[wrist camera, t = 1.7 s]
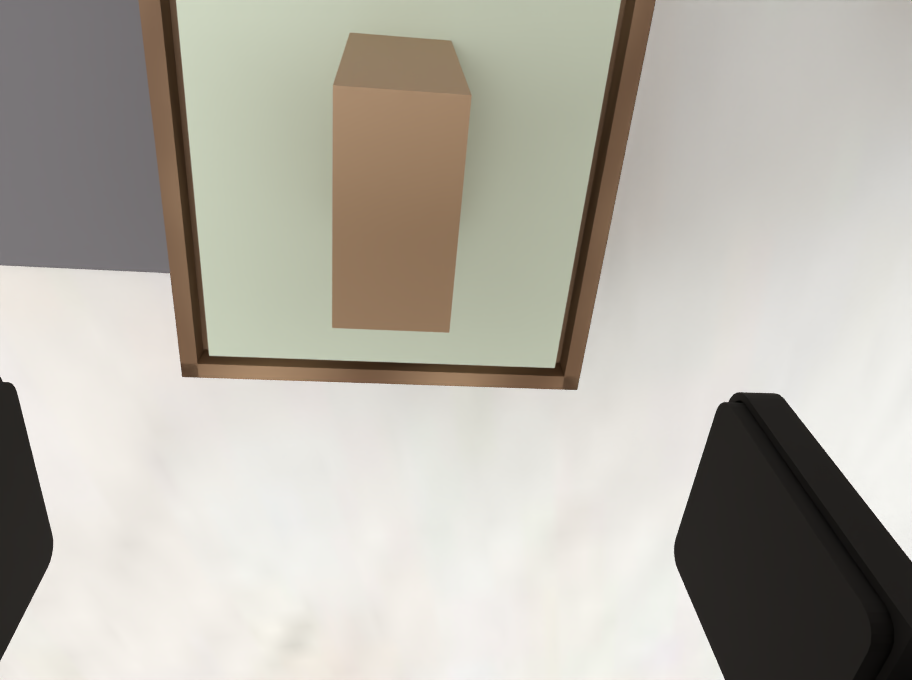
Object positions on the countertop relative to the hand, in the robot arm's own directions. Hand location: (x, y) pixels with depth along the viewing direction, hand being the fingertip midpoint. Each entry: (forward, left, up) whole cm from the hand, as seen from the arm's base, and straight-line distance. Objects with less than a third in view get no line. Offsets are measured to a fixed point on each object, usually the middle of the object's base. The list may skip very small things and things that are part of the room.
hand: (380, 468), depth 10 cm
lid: (0, 0, -17) cm, 17 cm away
